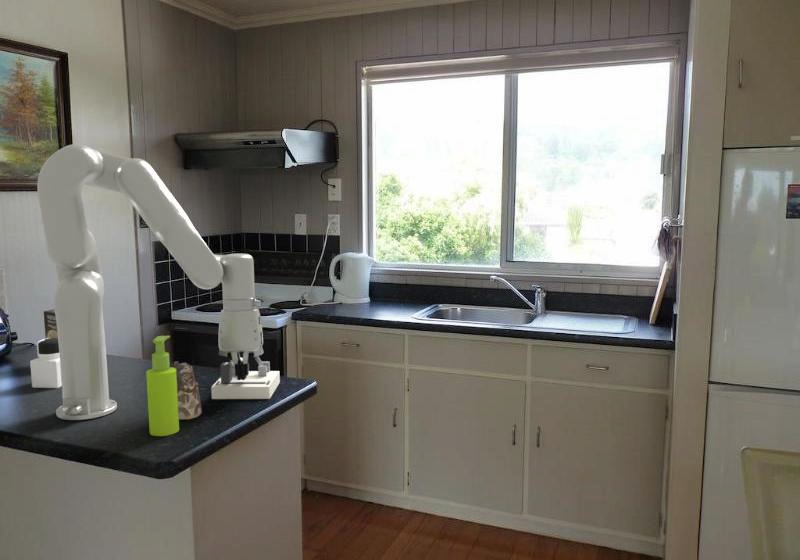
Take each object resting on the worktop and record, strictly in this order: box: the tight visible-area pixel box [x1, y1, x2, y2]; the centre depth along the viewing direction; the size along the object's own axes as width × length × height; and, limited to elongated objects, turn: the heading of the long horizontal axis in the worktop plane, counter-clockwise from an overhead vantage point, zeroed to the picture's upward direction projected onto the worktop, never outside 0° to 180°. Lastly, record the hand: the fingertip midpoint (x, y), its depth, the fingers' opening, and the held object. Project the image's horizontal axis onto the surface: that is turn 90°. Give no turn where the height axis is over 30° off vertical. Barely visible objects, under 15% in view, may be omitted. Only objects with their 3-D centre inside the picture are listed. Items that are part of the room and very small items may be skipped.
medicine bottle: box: [29, 338, 62, 389], centre depth 174 cm, size 7×7×12 cm
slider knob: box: [219, 361, 232, 383], centre depth 165 cm, size 3×2×4 cm
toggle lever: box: [253, 356, 268, 370], centre depth 173 cm, size 3×2×9 cm, turn 0°
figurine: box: [173, 360, 203, 420], centre depth 151 cm, size 7×7×12 cm
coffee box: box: [43, 309, 58, 339], centre depth 193 cm, size 9×6×16 cm
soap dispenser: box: [145, 335, 180, 437], centre depth 140 cm, size 6×7×20 cm
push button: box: [230, 356, 243, 368], centre depth 173 cm, size 3×3×2 cm
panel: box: [210, 361, 281, 400], centre depth 169 cm, size 14×14×6 cm
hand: (242, 378), depth 165 cm, fingers closed
